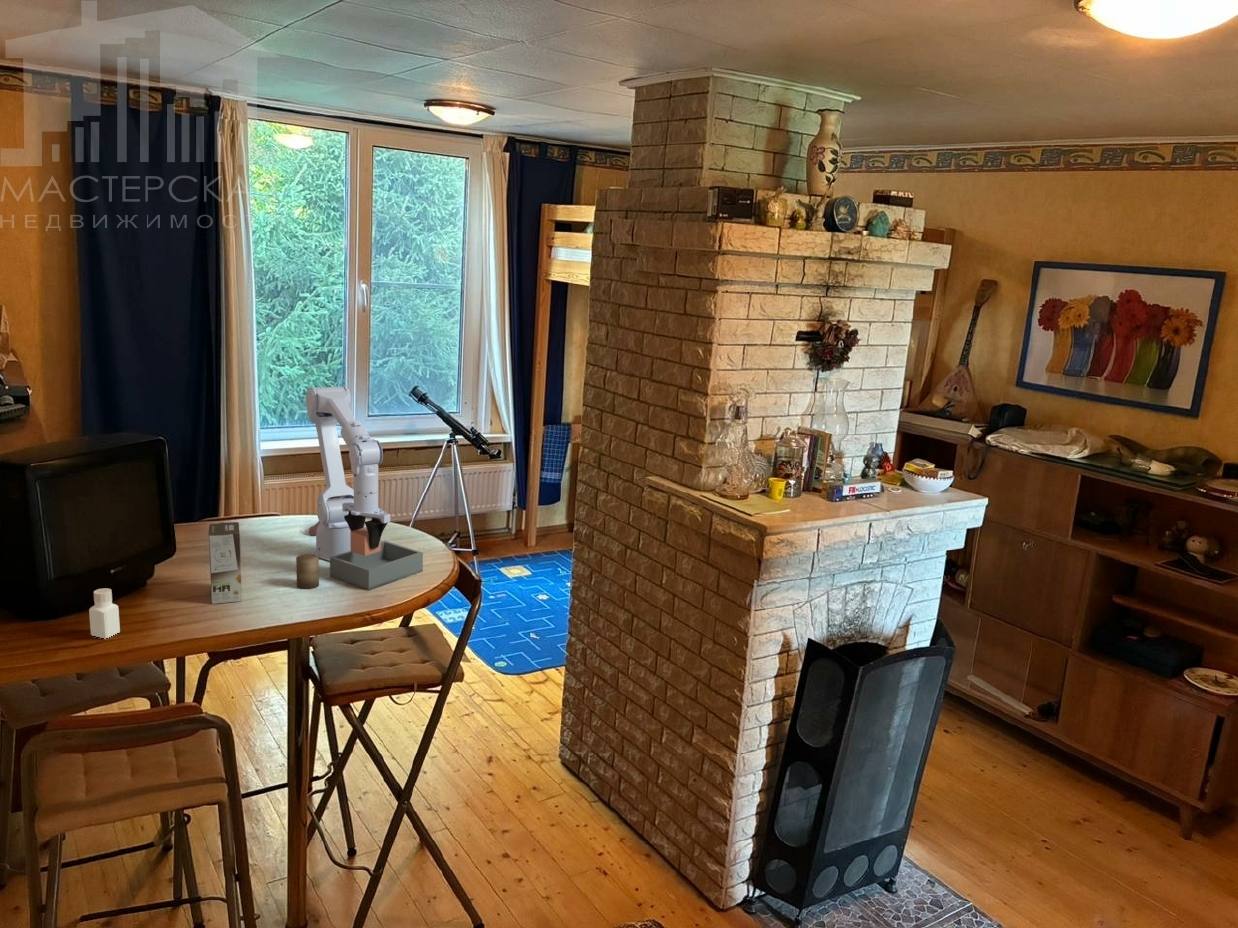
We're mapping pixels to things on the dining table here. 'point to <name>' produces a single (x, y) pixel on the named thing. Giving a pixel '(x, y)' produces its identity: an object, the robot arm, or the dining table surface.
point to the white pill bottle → (104, 615)
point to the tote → (376, 566)
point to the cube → (362, 542)
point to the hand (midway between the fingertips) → (366, 545)
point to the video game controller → (314, 528)
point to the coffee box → (225, 562)
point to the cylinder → (307, 571)
